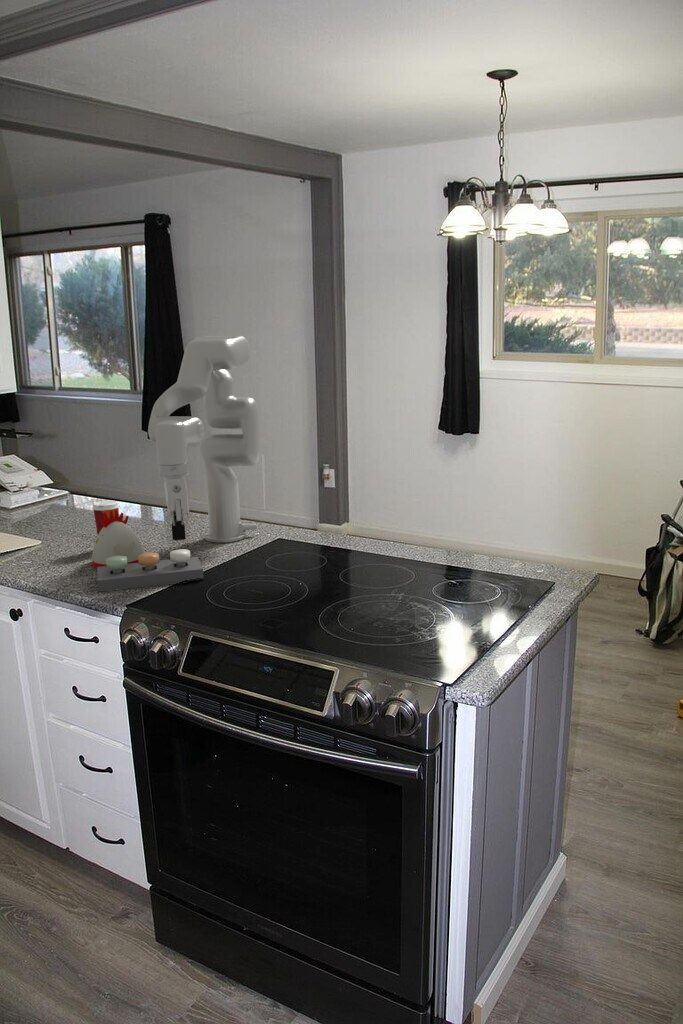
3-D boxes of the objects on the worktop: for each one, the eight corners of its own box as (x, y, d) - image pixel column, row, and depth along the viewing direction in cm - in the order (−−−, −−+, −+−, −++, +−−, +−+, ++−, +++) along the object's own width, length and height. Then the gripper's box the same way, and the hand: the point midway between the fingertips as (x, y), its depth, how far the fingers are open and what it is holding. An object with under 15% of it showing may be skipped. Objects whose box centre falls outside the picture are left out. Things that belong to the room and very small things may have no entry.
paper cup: (116, 553, 245) (111, 506, 241) (91, 552, 246) (86, 505, 243) (128, 545, 252) (123, 500, 249) (104, 545, 254) (99, 499, 250)
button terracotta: (159, 569, 223) (158, 551, 221) (161, 575, 218) (159, 556, 217) (139, 572, 221) (137, 553, 220) (140, 577, 216) (138, 559, 215)
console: (198, 567, 229) (197, 556, 228) (203, 580, 218) (202, 569, 217) (98, 578, 222) (97, 567, 221) (98, 591, 211) (97, 580, 210)
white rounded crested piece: (85, 562, 237) (79, 510, 234) (131, 552, 245) (126, 502, 242) (104, 573, 226) (99, 518, 223) (152, 563, 234) (147, 510, 231)
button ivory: (190, 566, 225) (188, 548, 223) (192, 572, 220) (191, 553, 219) (170, 568, 223) (168, 550, 222) (172, 574, 218) (170, 555, 217)
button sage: (128, 573, 220) (126, 554, 219) (129, 579, 216) (127, 560, 214) (107, 575, 219) (105, 556, 218) (107, 581, 214) (106, 562, 213)
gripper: (191, 473, 209) (197, 545, 214) (185, 463, 223) (190, 530, 228) (160, 476, 207) (166, 548, 212) (156, 465, 221) (162, 533, 226)
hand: (179, 539), depth 220 cm, fingers closed
